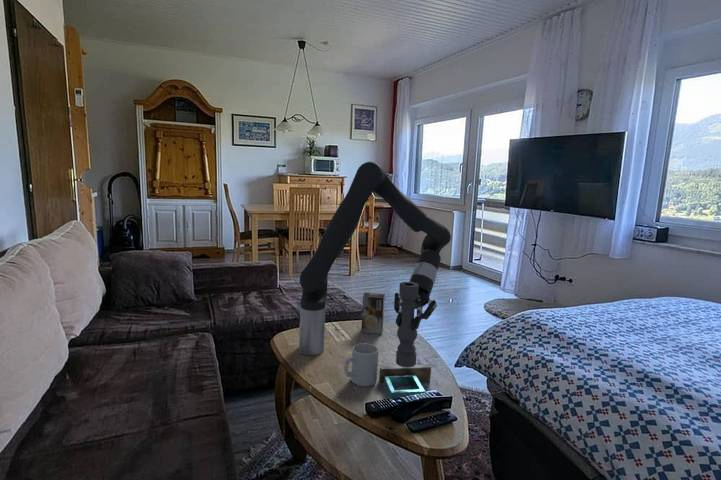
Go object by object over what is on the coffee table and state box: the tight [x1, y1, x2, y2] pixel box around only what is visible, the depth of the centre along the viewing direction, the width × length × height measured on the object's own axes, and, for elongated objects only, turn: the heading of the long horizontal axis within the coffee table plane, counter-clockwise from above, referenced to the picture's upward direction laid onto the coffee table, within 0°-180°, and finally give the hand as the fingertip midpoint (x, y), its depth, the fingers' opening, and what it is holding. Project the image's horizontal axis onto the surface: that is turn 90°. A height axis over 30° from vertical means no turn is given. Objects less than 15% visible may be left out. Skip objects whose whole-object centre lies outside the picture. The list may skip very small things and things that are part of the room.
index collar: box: [382, 374, 426, 400], centre depth 126 cm, size 10×10×4 cm
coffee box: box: [360, 292, 386, 335], centre depth 173 cm, size 9×6×16 cm
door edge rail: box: [378, 363, 433, 385], centre depth 133 cm, size 17×2×5 cm, turn 100°
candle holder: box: [395, 281, 419, 367], centre depth 123 cm, size 6×6×25 cm
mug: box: [343, 342, 379, 387], centre depth 131 cm, size 12×8×11 cm
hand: (405, 327), depth 121 cm, fingers closed on candle holder, 4 cm apart
